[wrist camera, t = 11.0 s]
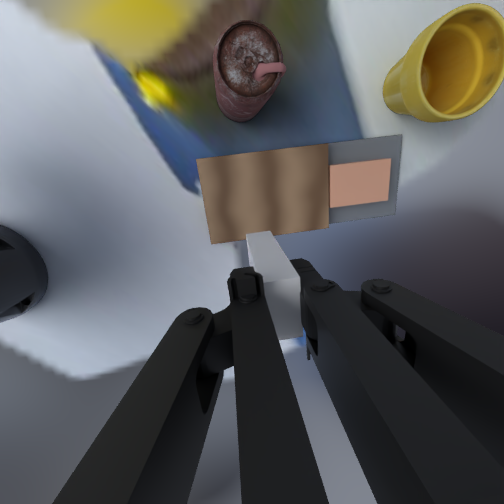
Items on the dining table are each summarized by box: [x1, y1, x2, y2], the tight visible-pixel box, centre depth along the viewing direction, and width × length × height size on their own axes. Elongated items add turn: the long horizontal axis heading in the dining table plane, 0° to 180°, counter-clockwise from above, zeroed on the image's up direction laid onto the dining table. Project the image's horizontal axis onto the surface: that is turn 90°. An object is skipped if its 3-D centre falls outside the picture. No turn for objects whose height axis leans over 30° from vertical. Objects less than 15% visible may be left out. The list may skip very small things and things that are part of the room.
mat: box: [328, 135, 402, 224], centre depth 40 cm, size 12×12×1 cm
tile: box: [328, 158, 391, 208], centre depth 39 cm, size 9×6×2 cm, turn 96°
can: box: [213, 20, 286, 122], centre depth 28 cm, size 6×6×14 cm
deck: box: [196, 143, 329, 244], centre depth 38 cm, size 18×12×2 cm, turn 97°
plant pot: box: [383, 3, 504, 122], centre depth 31 cm, size 10×10×10 cm
